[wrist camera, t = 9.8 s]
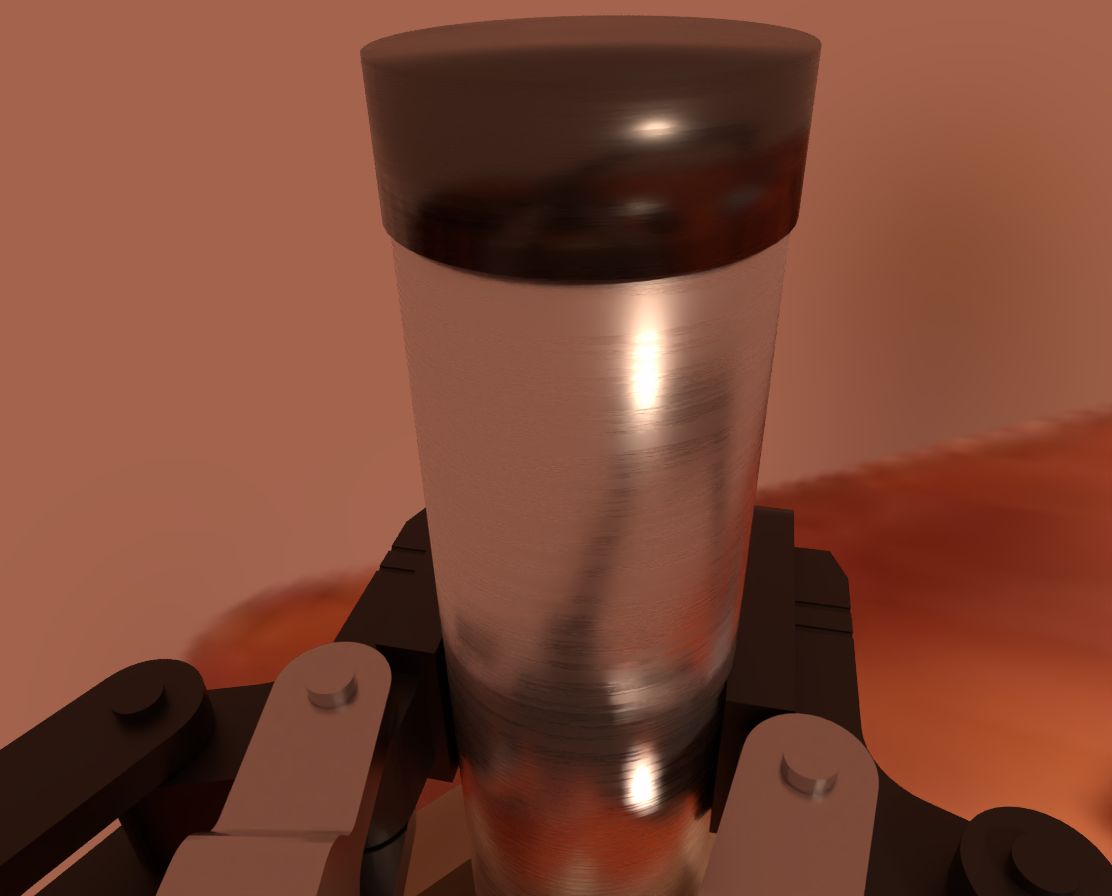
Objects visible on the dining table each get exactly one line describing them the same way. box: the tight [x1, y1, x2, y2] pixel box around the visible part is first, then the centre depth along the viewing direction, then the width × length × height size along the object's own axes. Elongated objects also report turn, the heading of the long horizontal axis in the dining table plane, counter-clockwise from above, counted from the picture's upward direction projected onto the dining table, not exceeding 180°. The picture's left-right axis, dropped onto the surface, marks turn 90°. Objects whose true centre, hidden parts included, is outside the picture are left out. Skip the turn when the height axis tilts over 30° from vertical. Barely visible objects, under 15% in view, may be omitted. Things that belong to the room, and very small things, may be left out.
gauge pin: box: [360, 16, 821, 896], centre depth 11 cm, size 3×3×16 cm
